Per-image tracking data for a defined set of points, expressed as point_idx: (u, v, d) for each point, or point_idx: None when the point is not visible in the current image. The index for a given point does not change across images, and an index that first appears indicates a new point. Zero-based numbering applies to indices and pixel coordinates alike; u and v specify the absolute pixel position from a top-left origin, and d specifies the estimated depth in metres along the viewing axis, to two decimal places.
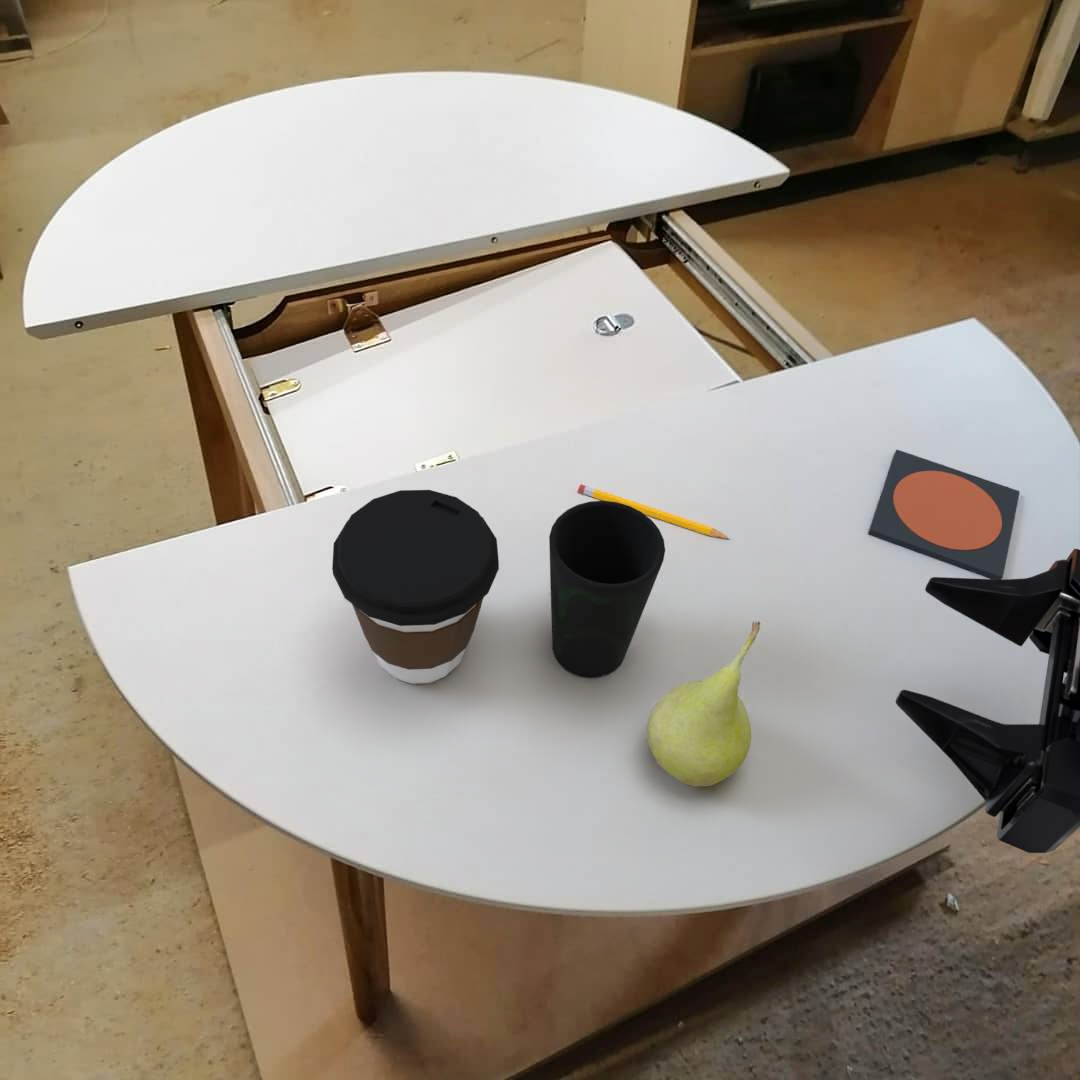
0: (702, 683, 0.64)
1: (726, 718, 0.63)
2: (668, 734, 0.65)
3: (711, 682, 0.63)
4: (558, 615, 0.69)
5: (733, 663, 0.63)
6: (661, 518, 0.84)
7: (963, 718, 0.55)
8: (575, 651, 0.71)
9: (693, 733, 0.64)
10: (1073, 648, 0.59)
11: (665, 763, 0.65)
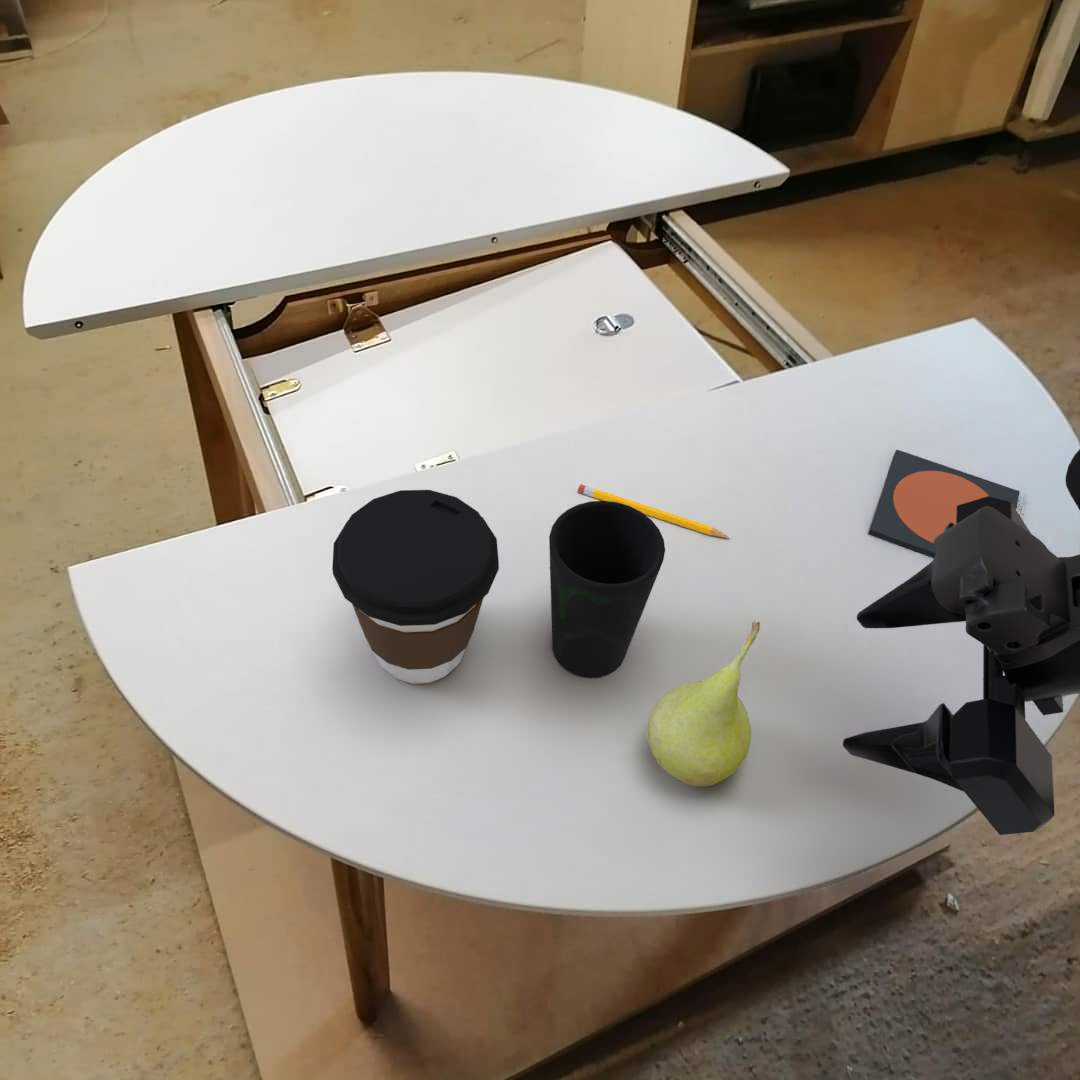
0: (702, 683, 0.64)
1: (726, 718, 0.63)
2: (668, 734, 0.65)
3: (711, 682, 0.63)
4: (558, 615, 0.69)
5: (733, 663, 0.63)
6: (661, 518, 0.84)
7: (893, 736, 0.53)
8: (575, 651, 0.71)
9: (693, 733, 0.64)
10: None
11: (665, 763, 0.65)
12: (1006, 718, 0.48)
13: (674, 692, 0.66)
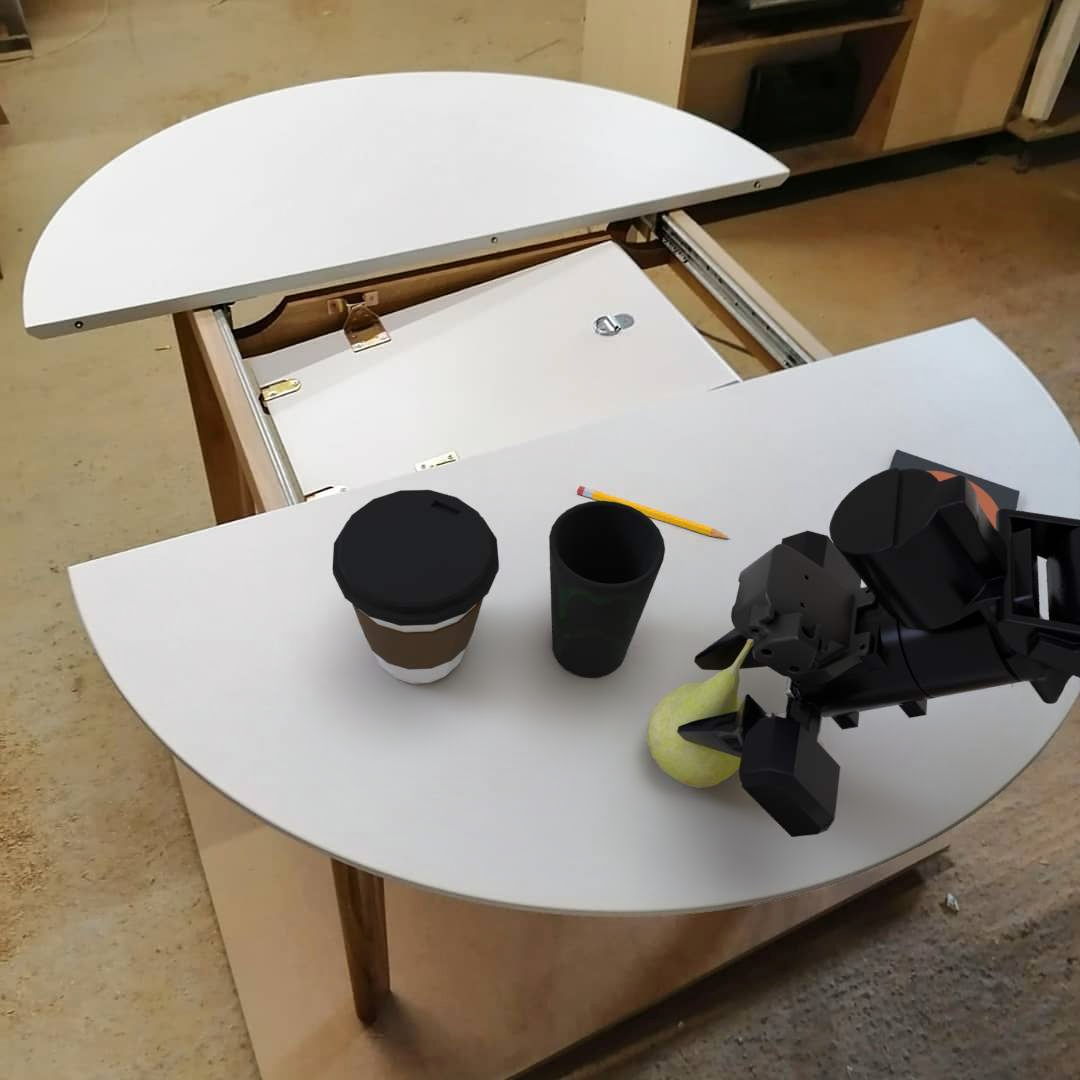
0: (701, 686, 0.63)
1: None
2: (667, 737, 0.64)
3: (710, 686, 0.63)
4: (558, 615, 0.69)
5: (732, 666, 0.62)
6: (661, 519, 0.84)
7: (713, 724, 0.60)
8: (575, 651, 0.71)
9: None
10: None
11: (664, 765, 0.65)
12: (790, 733, 0.54)
13: (673, 694, 0.66)
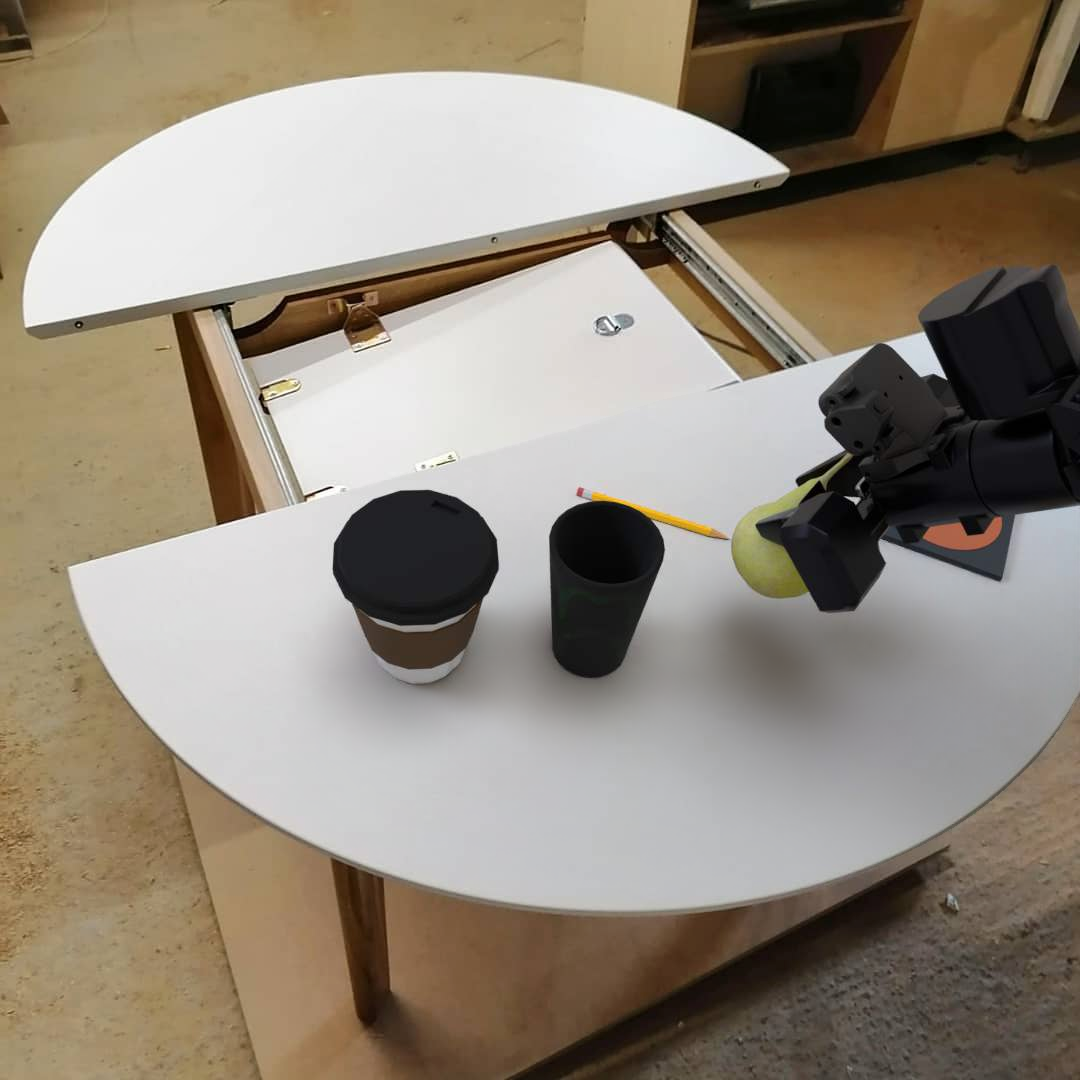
0: (789, 492, 0.67)
1: None
2: (747, 534, 0.69)
3: (796, 490, 0.66)
4: (558, 615, 0.69)
5: (822, 476, 0.66)
6: (660, 519, 0.84)
7: (785, 514, 0.64)
8: (575, 651, 0.71)
9: None
10: None
11: (738, 563, 0.70)
12: (840, 506, 0.57)
13: None
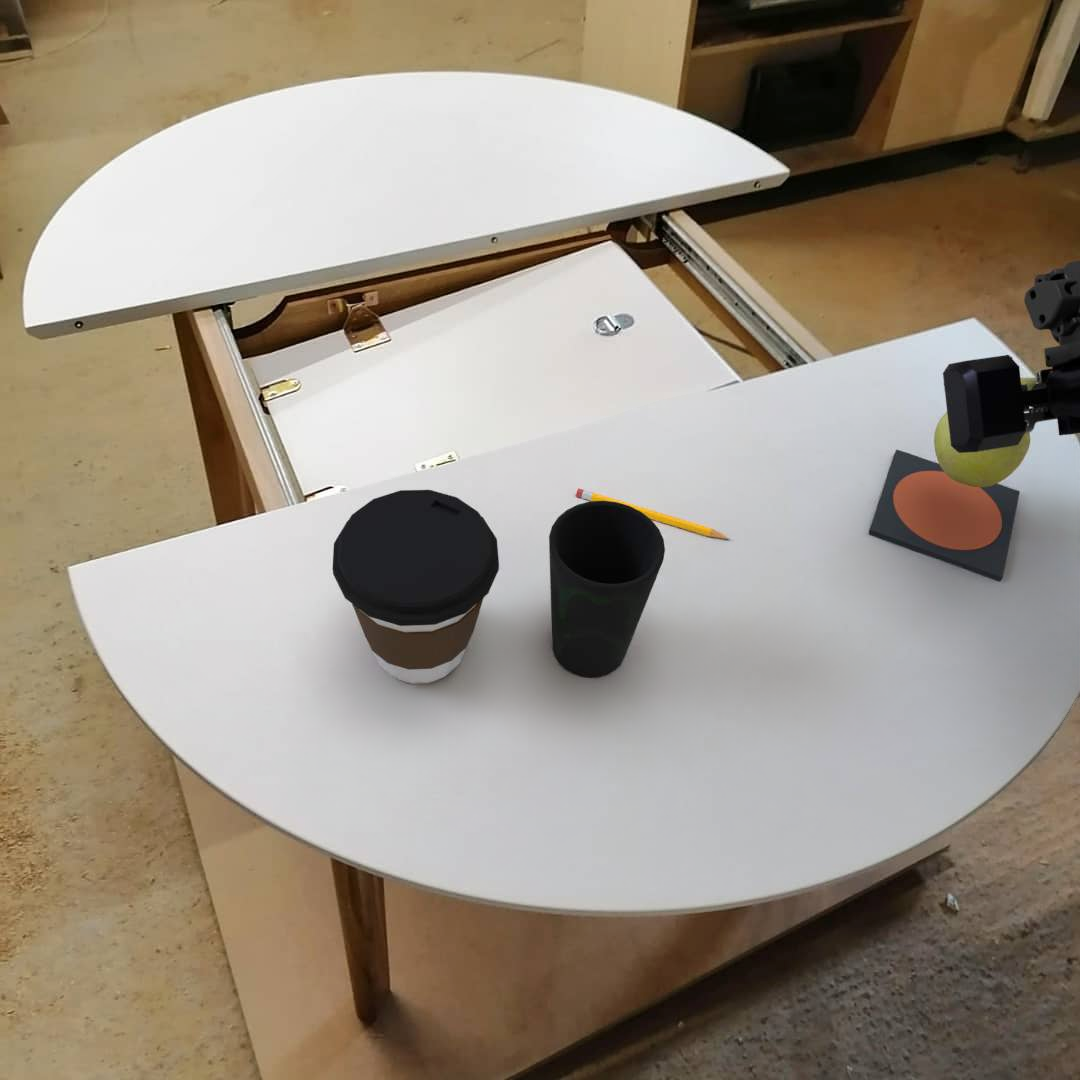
0: None
1: None
2: None
3: None
4: (558, 615, 0.69)
5: None
6: (660, 520, 0.84)
7: None
8: (575, 651, 0.71)
9: None
10: None
11: (935, 434, 0.81)
12: (1004, 364, 0.67)
13: None
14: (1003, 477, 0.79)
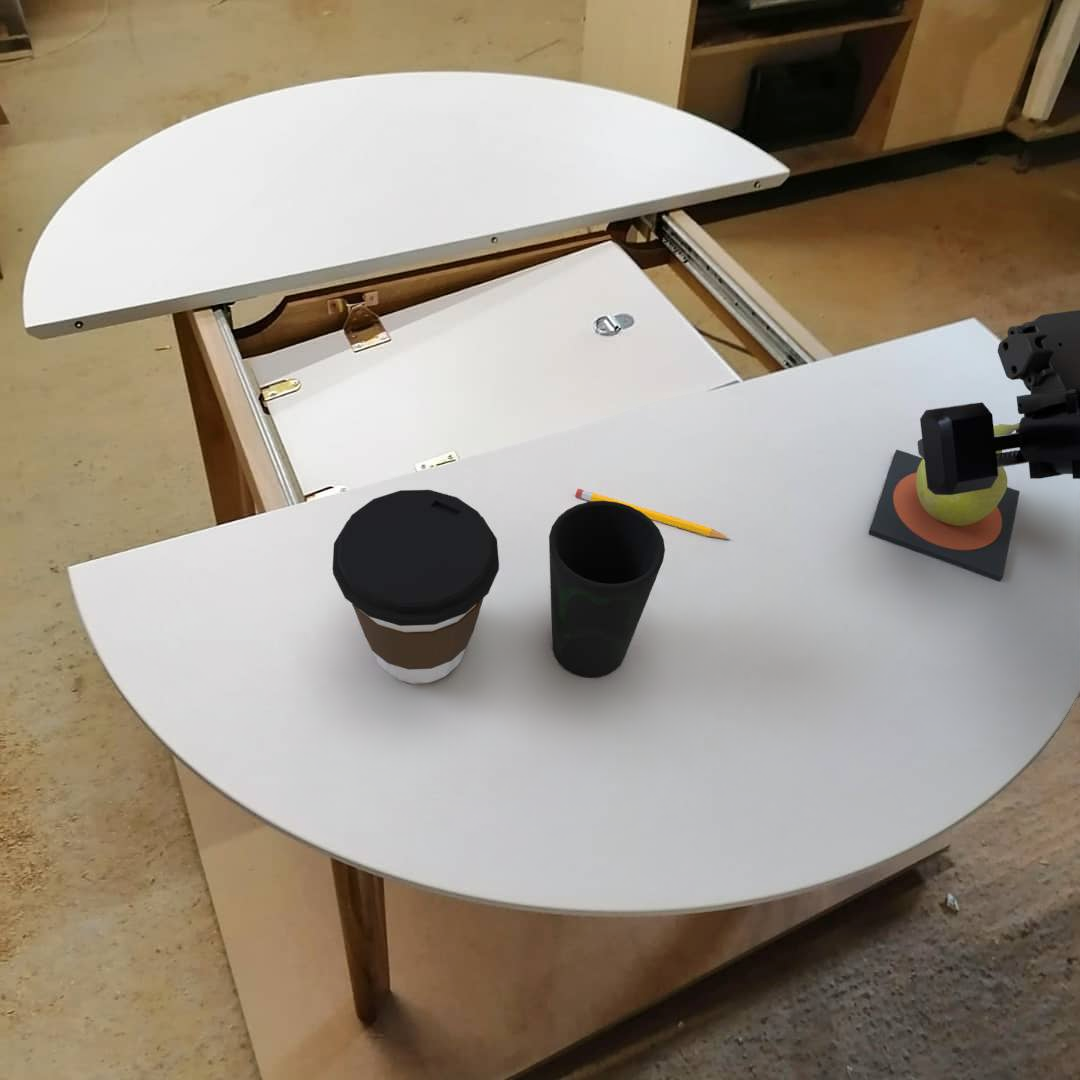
0: None
1: None
2: None
3: None
4: (558, 615, 0.69)
5: (1010, 425, 0.78)
6: (660, 520, 0.84)
7: None
8: (575, 651, 0.71)
9: None
10: None
11: (917, 473, 0.84)
12: (978, 412, 0.71)
13: None
14: (980, 517, 0.82)
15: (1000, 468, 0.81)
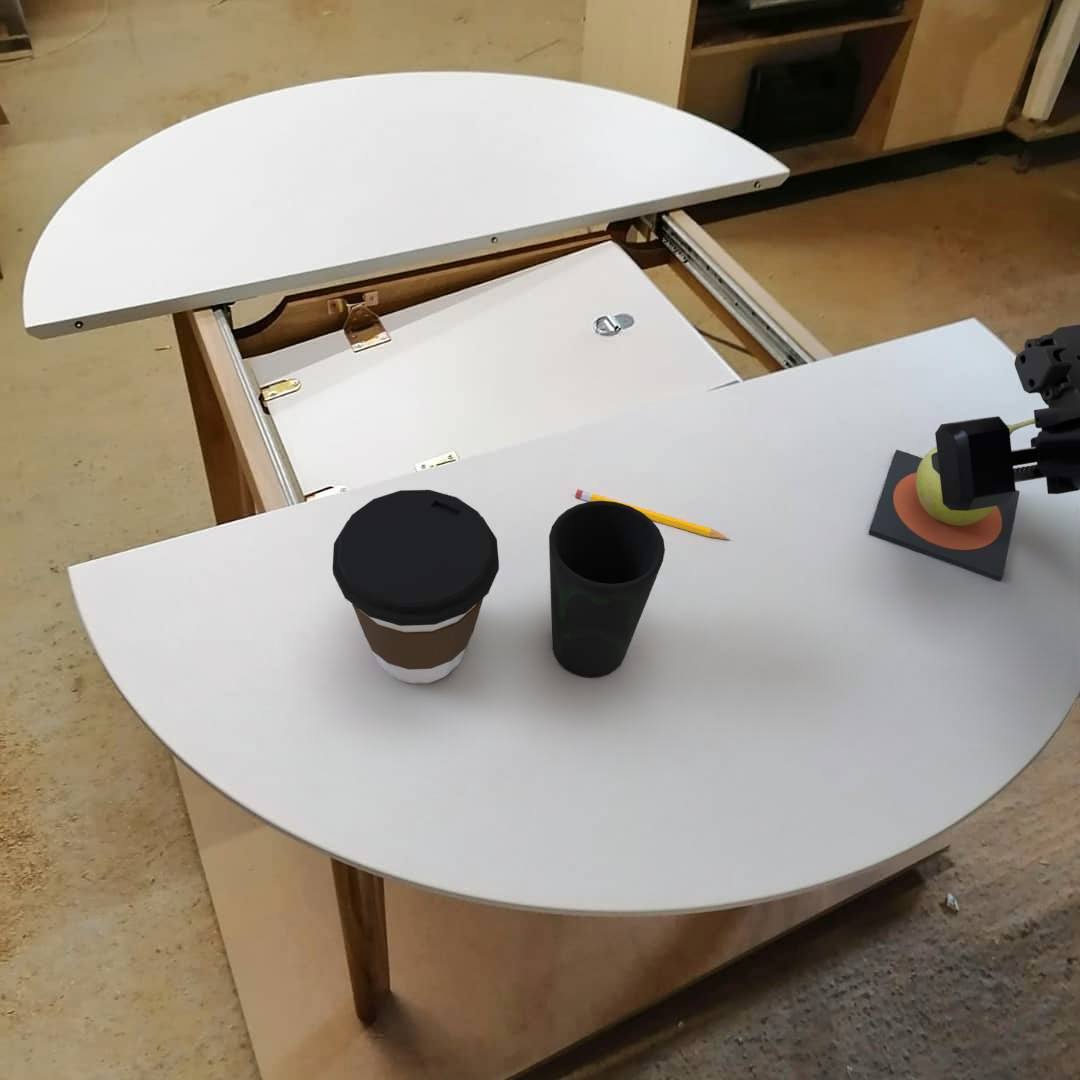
0: None
1: None
2: (934, 452, 0.83)
3: None
4: (558, 615, 0.69)
5: (1010, 425, 0.78)
6: (660, 521, 0.84)
7: None
8: (575, 651, 0.71)
9: None
10: None
11: (917, 473, 0.84)
12: (995, 426, 0.69)
13: None
14: (980, 517, 0.82)
15: None
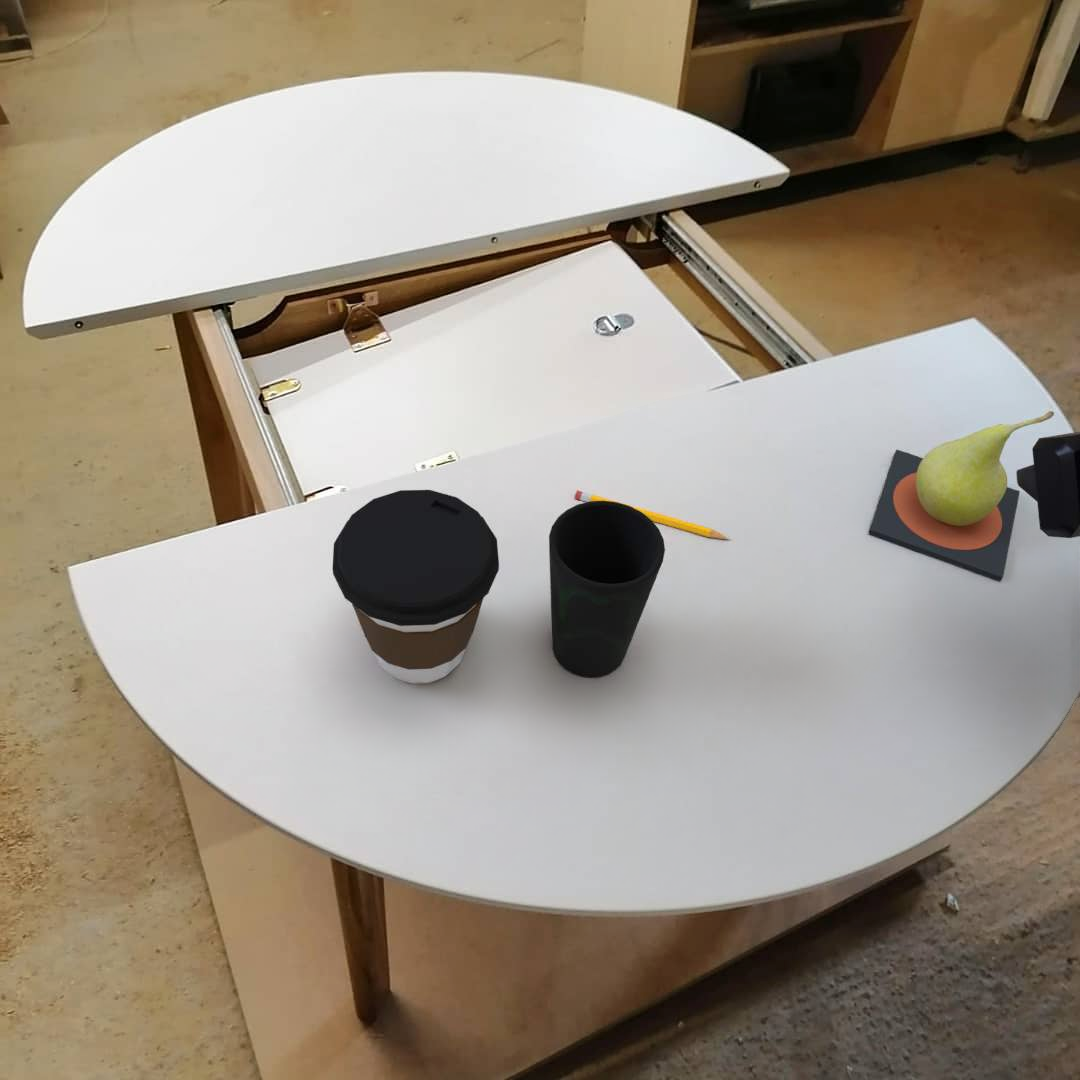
0: None
1: (975, 459, 0.79)
2: (934, 452, 0.83)
3: (986, 428, 0.79)
4: (558, 615, 0.69)
5: (1010, 425, 0.78)
6: (660, 521, 0.84)
7: None
8: (575, 651, 0.71)
9: (947, 455, 0.81)
10: None
11: (917, 473, 0.84)
12: None
13: None
14: (980, 517, 0.82)
15: (1000, 468, 0.81)
